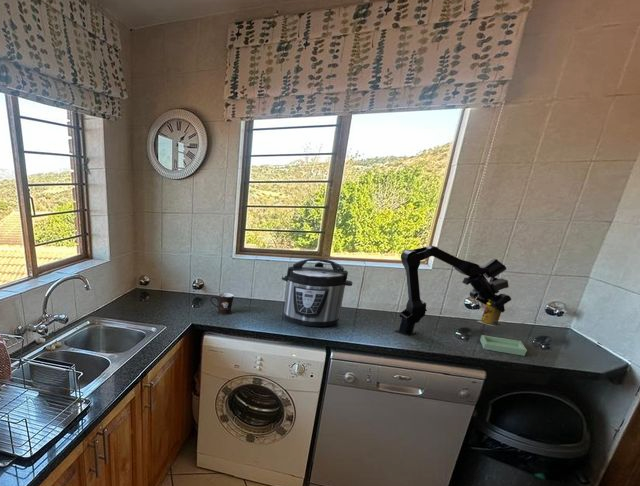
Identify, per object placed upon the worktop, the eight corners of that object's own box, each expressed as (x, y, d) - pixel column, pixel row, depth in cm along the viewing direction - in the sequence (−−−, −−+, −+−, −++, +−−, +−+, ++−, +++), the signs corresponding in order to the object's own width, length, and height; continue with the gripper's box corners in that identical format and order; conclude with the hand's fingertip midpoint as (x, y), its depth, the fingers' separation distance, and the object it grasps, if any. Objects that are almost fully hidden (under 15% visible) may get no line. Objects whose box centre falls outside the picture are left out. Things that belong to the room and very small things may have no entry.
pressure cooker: (267, 316, 214) (275, 256, 203) (304, 309, 227) (313, 252, 216) (314, 333, 190) (325, 266, 178) (352, 324, 203) (365, 261, 192)
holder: (483, 349, 173) (485, 343, 172) (480, 340, 183) (481, 335, 182) (524, 355, 167) (527, 350, 166) (518, 346, 177) (520, 340, 176)
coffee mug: (234, 311, 221) (236, 294, 218) (228, 315, 215) (230, 297, 211) (215, 308, 227) (216, 291, 224) (208, 312, 220) (210, 294, 217)
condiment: (475, 321, 188) (483, 296, 184) (490, 320, 190) (498, 295, 185) (490, 326, 181) (499, 300, 177) (505, 325, 183) (515, 299, 178)
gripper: (514, 277, 168) (533, 303, 171) (484, 268, 186) (501, 293, 189) (488, 294, 172) (506, 320, 175) (461, 284, 189) (478, 308, 192)
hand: (498, 309), depth 183 cm, fingers closed on condiment, 6 cm apart
